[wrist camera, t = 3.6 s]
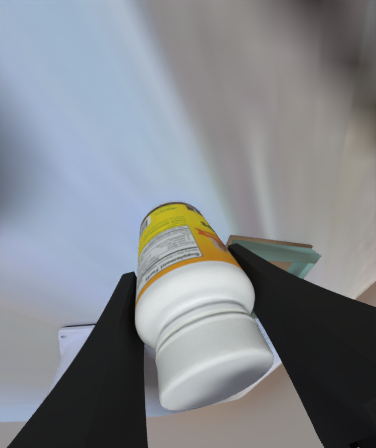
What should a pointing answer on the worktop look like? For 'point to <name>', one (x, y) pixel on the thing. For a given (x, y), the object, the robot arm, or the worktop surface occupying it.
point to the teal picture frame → (280, 254)
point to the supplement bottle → (195, 310)
